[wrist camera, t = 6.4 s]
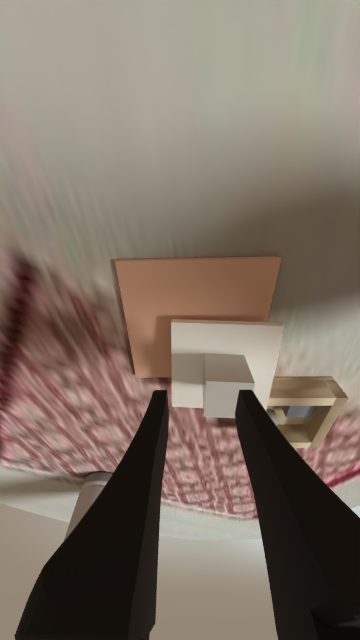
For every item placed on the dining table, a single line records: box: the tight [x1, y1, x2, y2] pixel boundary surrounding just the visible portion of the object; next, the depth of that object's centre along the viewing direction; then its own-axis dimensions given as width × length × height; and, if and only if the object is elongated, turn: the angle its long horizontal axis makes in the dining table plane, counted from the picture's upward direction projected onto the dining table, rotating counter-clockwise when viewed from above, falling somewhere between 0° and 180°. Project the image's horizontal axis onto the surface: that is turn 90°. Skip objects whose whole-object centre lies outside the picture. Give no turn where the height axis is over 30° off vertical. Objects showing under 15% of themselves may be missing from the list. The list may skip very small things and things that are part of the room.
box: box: [266, 377, 348, 448], centre depth 22 cm, size 8×8×2 cm
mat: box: [115, 256, 282, 378], centre depth 17 cm, size 11×11×1 cm
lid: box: [171, 319, 285, 418], centre depth 16 cm, size 8×8×5 cm
